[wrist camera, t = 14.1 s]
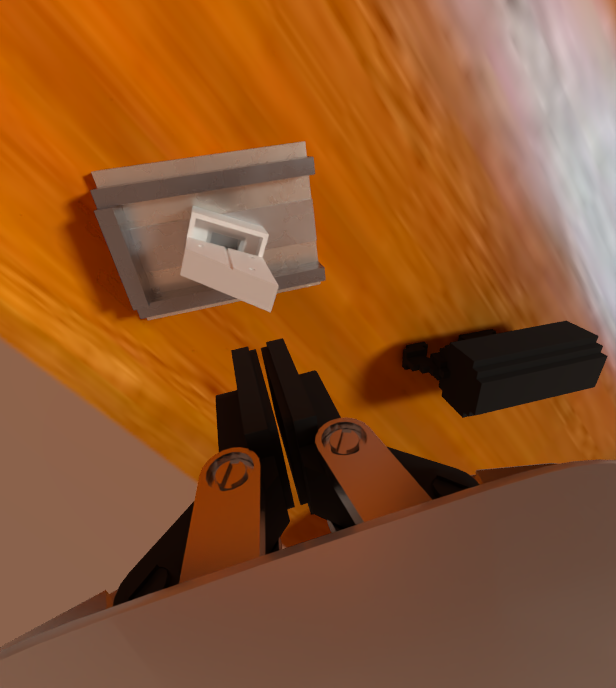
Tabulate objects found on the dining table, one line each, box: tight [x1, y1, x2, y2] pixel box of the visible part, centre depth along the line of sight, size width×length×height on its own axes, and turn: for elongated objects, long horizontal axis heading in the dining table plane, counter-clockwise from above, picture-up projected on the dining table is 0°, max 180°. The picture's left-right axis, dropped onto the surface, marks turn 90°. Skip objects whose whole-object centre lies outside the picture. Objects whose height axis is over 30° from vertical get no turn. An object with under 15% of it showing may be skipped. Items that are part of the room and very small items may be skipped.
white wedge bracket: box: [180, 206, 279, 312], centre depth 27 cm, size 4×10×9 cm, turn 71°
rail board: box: [90, 141, 325, 320], centre depth 30 cm, size 16×12×4 cm
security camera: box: [402, 321, 607, 418], centre depth 40 cm, size 7×18×10 cm, turn 93°
